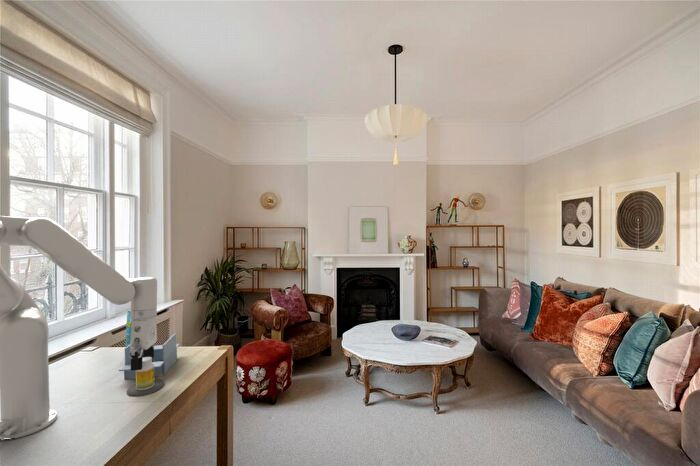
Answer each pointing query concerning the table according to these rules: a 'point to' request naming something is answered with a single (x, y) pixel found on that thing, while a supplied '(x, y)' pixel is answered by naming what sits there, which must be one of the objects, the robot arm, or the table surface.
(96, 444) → the table surface
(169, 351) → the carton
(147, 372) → the supplement bottle
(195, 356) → the table surface
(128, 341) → the tube
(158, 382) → the coaster
